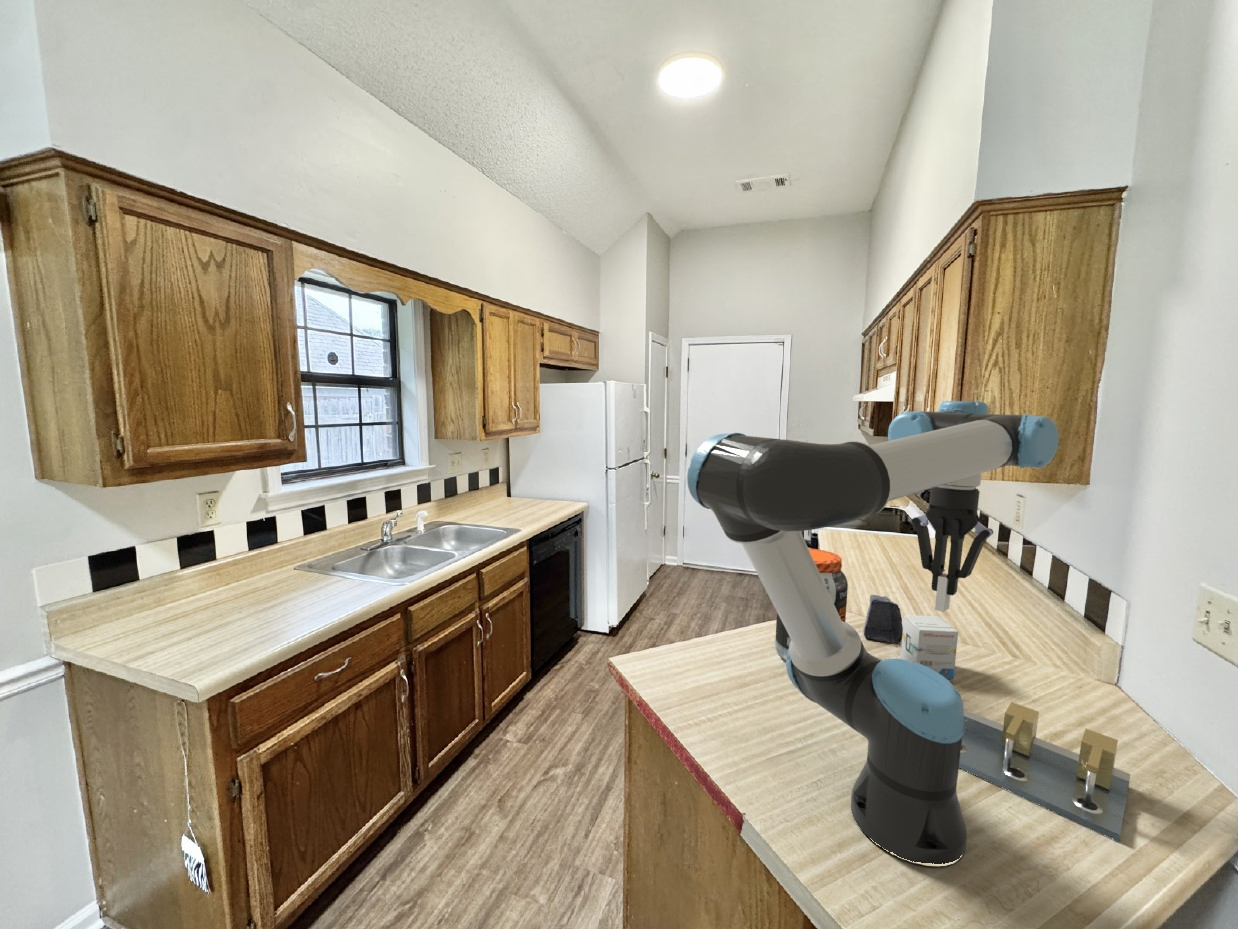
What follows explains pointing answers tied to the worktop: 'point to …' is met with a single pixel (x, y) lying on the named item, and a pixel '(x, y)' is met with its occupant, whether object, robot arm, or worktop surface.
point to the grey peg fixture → (1052, 774)
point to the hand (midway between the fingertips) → (941, 609)
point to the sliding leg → (1018, 730)
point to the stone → (883, 620)
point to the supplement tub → (835, 585)
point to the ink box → (930, 643)
